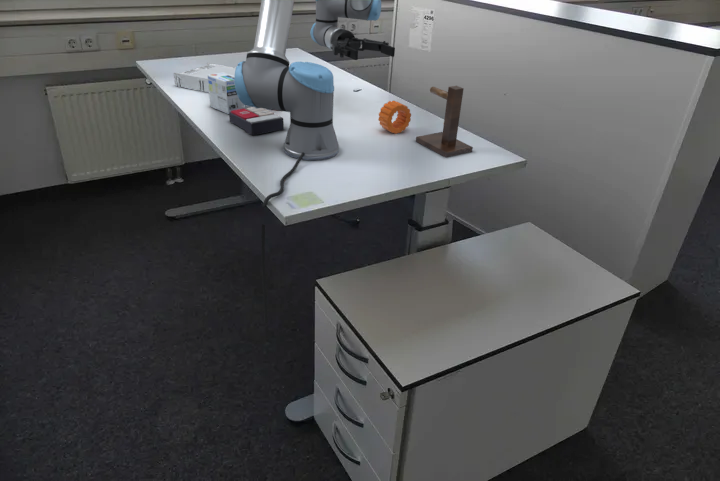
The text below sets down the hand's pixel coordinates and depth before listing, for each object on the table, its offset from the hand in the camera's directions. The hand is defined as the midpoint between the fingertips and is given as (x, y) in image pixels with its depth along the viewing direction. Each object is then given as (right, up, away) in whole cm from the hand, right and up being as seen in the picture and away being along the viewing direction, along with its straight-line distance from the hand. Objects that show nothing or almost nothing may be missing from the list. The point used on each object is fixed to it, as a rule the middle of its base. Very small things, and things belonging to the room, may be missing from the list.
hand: (375, 53), depth 171 cm
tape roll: (+6, -23, +4) cm, 24 cm away
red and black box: (-37, -22, +2) cm, 43 cm away
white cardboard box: (-54, -1, +36) cm, 65 cm away
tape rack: (+19, -29, -5) cm, 35 cm away
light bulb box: (-49, -14, +14) cm, 53 cm away
